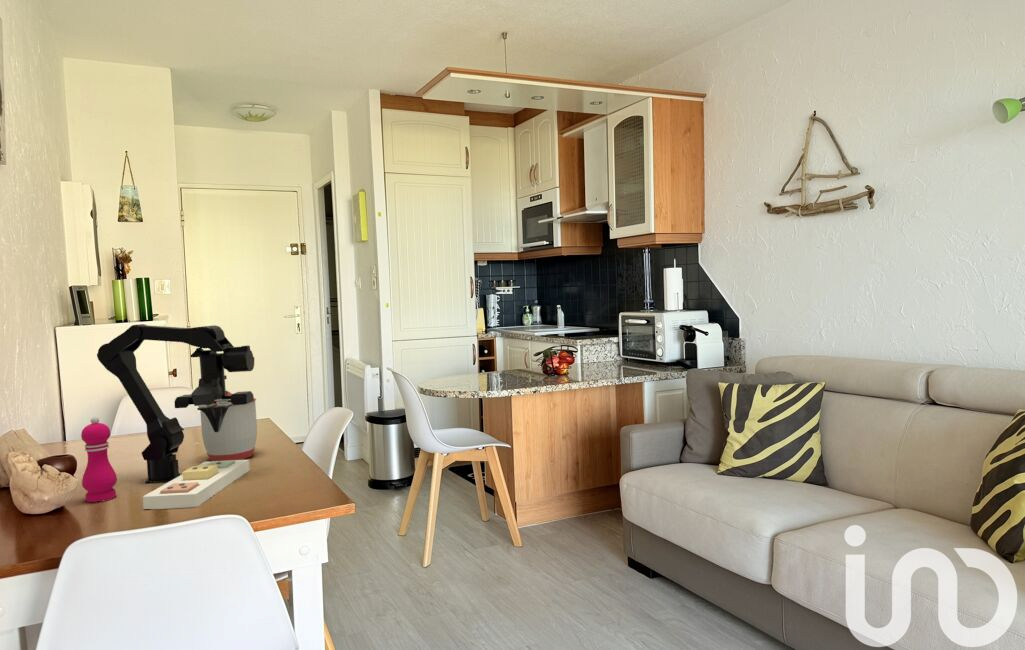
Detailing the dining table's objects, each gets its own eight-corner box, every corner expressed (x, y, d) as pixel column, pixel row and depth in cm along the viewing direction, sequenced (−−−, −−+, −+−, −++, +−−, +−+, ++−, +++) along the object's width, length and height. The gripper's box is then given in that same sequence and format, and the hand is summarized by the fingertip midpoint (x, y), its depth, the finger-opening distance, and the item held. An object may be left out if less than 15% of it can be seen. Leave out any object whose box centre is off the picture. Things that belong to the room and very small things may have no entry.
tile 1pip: (203, 475, 179) (202, 466, 179) (212, 469, 185) (212, 460, 185) (226, 474, 179) (225, 464, 179) (235, 468, 185) (234, 459, 185)
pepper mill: (93, 505, 161) (86, 420, 160) (77, 501, 165) (70, 418, 164) (124, 496, 167) (117, 415, 166) (108, 493, 171) (102, 413, 170)
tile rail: (143, 509, 155) (142, 496, 155) (205, 472, 187) (204, 461, 187) (197, 507, 155) (196, 494, 155) (249, 470, 187) (248, 459, 187)
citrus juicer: (272, 450, 211) (268, 385, 210) (241, 465, 194) (236, 394, 193) (226, 450, 214) (222, 387, 213) (191, 465, 197) (186, 395, 196)
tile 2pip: (183, 481, 168) (182, 471, 168) (194, 475, 174) (193, 465, 174) (207, 480, 168) (206, 470, 168) (217, 473, 174) (217, 464, 174)
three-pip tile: (161, 500, 157) (160, 489, 157) (173, 493, 163) (172, 482, 163) (187, 499, 157) (186, 488, 157) (199, 491, 163) (198, 481, 163)
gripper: (161, 379, 173) (166, 440, 173) (236, 375, 173) (240, 436, 174) (182, 373, 184) (186, 431, 184) (252, 370, 184) (256, 427, 185)
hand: (217, 432), depth 181 cm, fingers closed
